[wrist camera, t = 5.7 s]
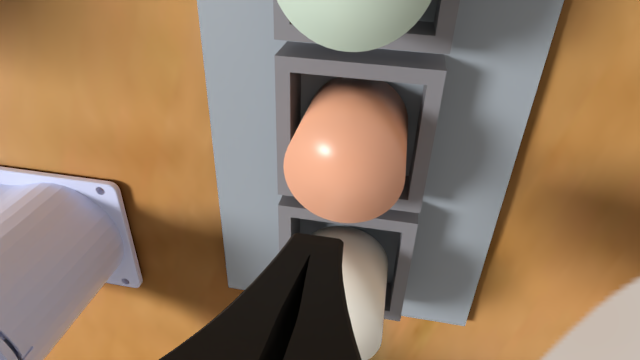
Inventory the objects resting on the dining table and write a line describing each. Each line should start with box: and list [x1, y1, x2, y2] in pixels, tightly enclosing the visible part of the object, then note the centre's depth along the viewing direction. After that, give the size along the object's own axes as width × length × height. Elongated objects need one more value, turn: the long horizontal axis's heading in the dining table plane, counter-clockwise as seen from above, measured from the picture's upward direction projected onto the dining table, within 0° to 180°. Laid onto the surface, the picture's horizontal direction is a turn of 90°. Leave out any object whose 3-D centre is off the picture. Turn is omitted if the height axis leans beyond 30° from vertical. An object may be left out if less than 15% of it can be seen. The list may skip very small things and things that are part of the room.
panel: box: [197, 0, 564, 326], centre depth 20 cm, size 14×24×3 cm, turn 178°
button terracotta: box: [283, 77, 408, 223], centre depth 18 cm, size 4×4×4 cm
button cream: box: [311, 226, 388, 360], centre depth 21 cm, size 4×4×4 cm
